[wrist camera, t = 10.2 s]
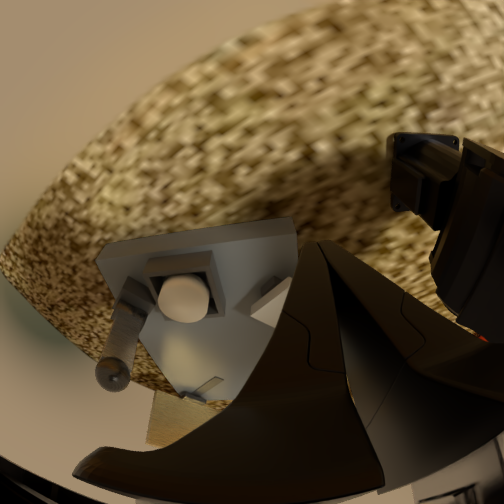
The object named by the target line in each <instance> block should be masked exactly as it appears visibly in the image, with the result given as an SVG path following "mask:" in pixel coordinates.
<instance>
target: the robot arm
mask: <svg viewBox="0 0 504 504" xmlns="http://www.w3.org/2000/svg"><path fill="white" fill-rule="evenodd" d="M400 137H402V138H403V139H402V141H401V142H400V141H399V139H400ZM454 140H455V141H454ZM453 141H454V143H453ZM462 145H463V146H464V147H463V152H462V153H461V152H459V139H458V137H456V136H454V135H445V134H431V133H411V132H398V133H396V134H395V136H394V159H393V160H392V170H391V187H390V190H391V192H392V195H391V208H392V209H393V210H394V211H395V212H401V211H412V212H413V213H414V214H415V215H419V216H420V217H421V218H422V219H423V220H424V221H425V222H426V223H427V224H428V225H429V226H430V227H431V228H432V229H433V230H434V231H438V230H440V233H439V236H438V239H437V241H436V244H435V247H434V249H433V251H431V253H430V256H429V261H430V264H431V275H432V277H433V279H434V281H435V284H436V286H437V289H436V294H437V296H438V297H439V298H440V300H441V301H442V302H443V304H444V305H445V307H446V308H447V309H448V310H449V311H450V312H451V313H453V314H454V315H455V316H457V318H456V322H457V323H458V324H460V325H462V326H465V327H467V328H470V329H472V330H473V331H475V332H476V333H478V334H479V335H481V336H482V337H483V338H485V339H486V340H487V341H488V342H487V341H484V340H482V339H479V338H478V337H476V336H474V335H473V334H471V333H469V332H468V331H466V330H465V329H463V328H461V327H460V326H458V325H457V324H455V323H453V322H452V321H450V320H448V319H447V318H445V317H443V316H442V315H440V314H439V313H437V312H436V311H434V310H432V309H431V308H429V307H428V306H426V305H425V304H423V303H422V302H420V301H419V300H418V299H416V298H415V297H413V296H412V295H411V294H409V293H408V292H405V291H404V290H403V289H402V288H401V287H399V286H398V285H396V284H395V283H393V282H392V281H391V280H389V279H388V278H386V277H385V276H383V275H382V274H381V273H379V272H378V271H376V270H375V269H373V268H372V267H370V266H369V265H367V264H366V263H364V262H363V261H361V260H360V259H358V258H357V257H355V256H354V255H352V254H351V253H349V252H348V251H346V250H345V249H343V248H342V247H340V246H339V245H337V244H336V243H334V242H333V241H331V240H324V241H318V242H309V243H304V244H303V246H302V250H301V253H300V256H299V259H298V262H297V265H296V268H295V272H294V275H293V278H292V281H291V284H290V287H289V290H288V293H287V296H286V299H285V302H284V305H283V308H282V311H281V313H280V316H279V319H278V321H277V324H276V327H275V329H274V331H273V334H272V336H271V338H270V340H269V342H268V344H267V346H266V348H265V350H264V352H263V354H262V355H261V357H260V359H259V360H258V362H257V364H256V366H255V367H254V369H253V371H252V372H251V374H250V376H249V377H248V379H247V381H246V382H245V384H244V386H243V387H242V389H241V390H240V392H239V394H238V395H237V396H236V398H235V399H234V400H233V401H232V402H231V403H230V404H229V405H228V406H227V407H226V408H225V409H224V410H222V411H221V412H219V413H218V414H217V415H215V416H214V417H212V418H211V419H209V420H208V421H206V422H205V423H203V424H202V425H200V426H199V427H197V428H196V429H194V430H193V431H191V432H190V433H188V434H187V435H185V436H183V437H182V438H180V439H179V440H177V441H175V442H174V443H172V444H170V445H168V446H166V447H164V448H161V449H157V450H154V451H146V452H139V451H130V450H125V449H119V448H114V447H106V446H105V447H99V448H98V449H96V450H95V451H93V452H92V453H91V454H89V455H88V456H86V457H85V458H84V459H83V460H82V461H80V462H79V464H78V465H77V466H76V467H75V469H74V471H73V473H72V476H73V477H75V478H77V479H79V480H81V481H84V482H86V483H89V484H92V485H94V486H97V487H99V488H102V489H105V490H108V491H111V492H114V493H117V494H121V495H124V496H127V497H131V498H134V499H136V502H135V504H337V503H341V502H344V501H347V500H350V499H353V498H356V497H359V496H362V495H365V494H367V493H370V492H373V491H376V490H377V493H378V495H380V494H383V493H386V492H389V491H392V490H395V489H398V488H401V487H404V486H407V485H409V484H411V487H412V492H413V497H414V503H415V504H504V153H502V152H500V151H498V150H495V149H493V148H491V147H488V146H486V145H483V144H481V143H478V142H476V141H473V140H470V139H467V138H465V137H464V139H463V144H462ZM396 204H398V206H397V207H395V206H396ZM404 292H405V293H404ZM346 374H347V376H346ZM347 378H348V381H349V384H350V388H351V391H352V395H353V398H354V402H355V405H356V407H355V405H354V402H353V400H352V398H351V395H350V392H349V388H348V383H347ZM0 504H107V503H104V502H101V501H98V500H95V499H93V498H90V497H87V496H85V495H82V494H79V493H77V492H74V491H72V490H70V489H68V488H65V487H63V486H60V485H58V484H56V483H54V482H52V481H50V480H47V479H45V478H43V477H41V476H39V475H37V474H35V473H32V472H30V471H29V470H27V469H25V468H23V467H21V466H19V465H17V464H15V463H14V462H12V461H10V460H8V459H7V458H5V457H3V456H2V455H0Z"/></svg>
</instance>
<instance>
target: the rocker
mask: <svg viewBox="0 0 504 504" xmlns="http://www.w3.org/2000/svg"><path fill="white" fill-rule="evenodd" d="M291 281H292V278H291V277H287V278H286V279H285V280H284V281H282V282H281V283H280V284H279V285H277V286H276V287H275V288H274V289H272V290H271V291H270V292H268V293H267V294H266V295H265V296H263V297H262V298H261V299H259V300H258V301H257V302H256V303H254V304H253V305H252V306H251V313H250V316H251V317H253V318H255V319H257V320H259V321H261V322H263V323H265V324H268V325H270V326H272V327H274V328H275V327H276V324H277V321H278V319H279V316H280V313H281V311H282V308H283V305H284V302H285V299H286V296H287V293H288V290H289V287H290V284H291Z"/></svg>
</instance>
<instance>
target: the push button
mask: <svg viewBox="0 0 504 504" xmlns="http://www.w3.org/2000/svg"><path fill="white" fill-rule="evenodd" d="M209 295H210V290H209V287H208V285H207V284H206V282H205V281H204V280H203V279H202V278H200V277H199V276H197V275H195V274H192V273H182V274H173V275H169V276H168V277H167V278H166V279H165V280H164V282H163V285H162V288H161V291H160V294H159V297H158V305H159V308H160V310H161V311H162V312H163V313H164V314H165V315H166V316H167V317H169V318H171V319H172V320H175V321H178V322H183V323H192V322H196V321H199V320H201V319H202V318H203V317H204V316H205V315H206V313H207V310H208V302H209Z"/></svg>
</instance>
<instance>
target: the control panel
mask: <svg viewBox="0 0 504 504" xmlns="http://www.w3.org/2000/svg"><path fill="white" fill-rule="evenodd" d="M95 261H96V264H97V266H98V267H99V269H100V271H101V273H102V275H103V277H104V279H105V281H106V283H107V285H108V287H109V288H110V290H111V292H112V294H113V296H114V298H115V299H116V301H115V303H114V305H113V307H112V309H115V307H116V305H117V303H118V301H119V299H122V300H123V301H125V302H127V303H129V304H131V305H133V306H134V307H136V308H138V309H140V310H142V311H144V312H146V313H148V317H147V320H146V322H145V325H144V327H143V329H142V331H141V332H140V333H139V339H140V341H141V342H142V344H143V345H144V347H145V348H146V350H147V351H148V353H149V354H150V356H151V357H152V358H153V360H154V361H155V363H156V364H157V366H158V367H159V368H160V370H161V371H162V373H163V374H164V375H165V377H166V378H167V380H168V381H169V382H170V384H171V385H172V386H173V388H174V389H175V390H176V391H177V393H178V394H179V395H180V396H182V395H183V394H185V393H189V394H192V395H195V396H198V397H201V398H204V399H207V400H234V399H235V398H236V396H237V395H238V394H239V392H240V390H241V389H242V387H243V386H244V384H245V382H246V381H247V379H248V377H249V376H250V374H251V372H252V371H253V369H254V367H255V366H256V364H257V362H258V360H259V359H260V357H261V355H262V354H263V352H264V350H265V348H266V346H267V344H268V342H269V340H270V338H271V336H272V334H273V331H274V329H275V328H274V327H272V326H270V325H268V324H265V323H263V322H261V321H259V320H257V319H255V318H253V317H251V316H250V313H251V306H252V305H253V304H254V303H256V302H257V301H258V300H259V299H261V298H262V297H263V296H265V295H266V294H267V293H268V292H270V291H271V290H272V289H274V288H275V287H276V286H277V285H279V284H280V283H281V282H282V281H284V280H285V279H286V278H287V277H291V278H293V275H294V272H295V268H296V265H297V262H298V247H297V233H296V229H295V226H294V223H293V219H292V217H284V218H276V219H268V220H260V221H253V222H245V223H238V224H230V225H223V226H216V227H209V228H202V229H195V230H189V231H182V232H175V233H169V234H163V235H156V236H150V237H144V238H138V239H132V240H126V241H120V242H114V243H109V244H106V245H105V247H104V248H103V249H102V251H101V252H100V254H99V255H98V257H97V258H96V260H95ZM182 273H192V274H195V275H197V276H199V277H200V278H202V279H203V280H204V281H205V282H206V284H207V285H208V287H209V290H210V295H209V302H208V310H207V313H206V315H205V316H204V317H203V318H202V319H201V320H199V321H196V322H192V323H183V322H178V321H175V320H172V319H171V318H169V317H167V316H166V315H165V314H164V313H163V312H162V311H161V310H160V308H159V305H158V297H159V294H160V291H161V288H162V285H163V282H164V280H165V279H166V278H167V277H168V276H169V275H173V274H182Z"/></svg>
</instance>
